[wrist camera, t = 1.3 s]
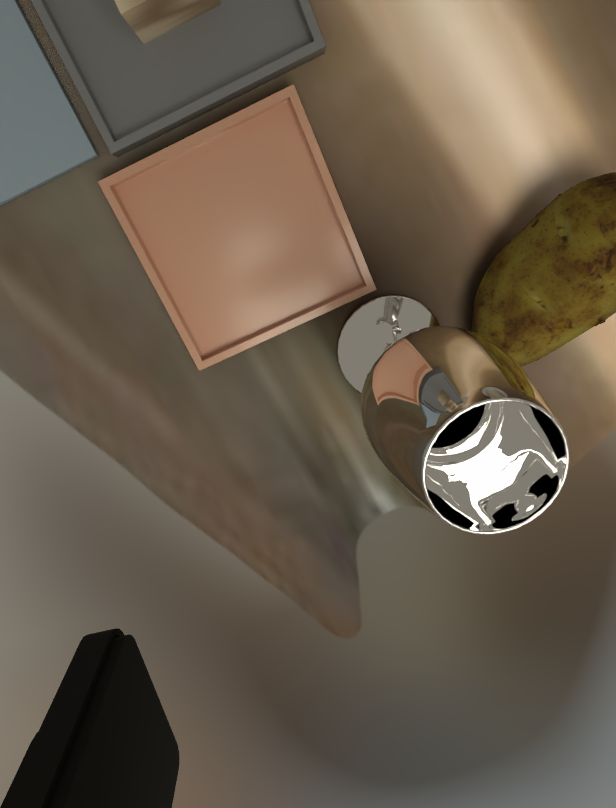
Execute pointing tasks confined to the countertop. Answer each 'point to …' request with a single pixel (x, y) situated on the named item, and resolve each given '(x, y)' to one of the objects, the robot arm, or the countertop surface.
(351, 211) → the countertop surface
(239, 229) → the terracotta tray
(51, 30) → the charcoal tray
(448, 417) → the wineglass
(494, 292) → the potato
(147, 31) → the letter cube
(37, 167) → the mat
